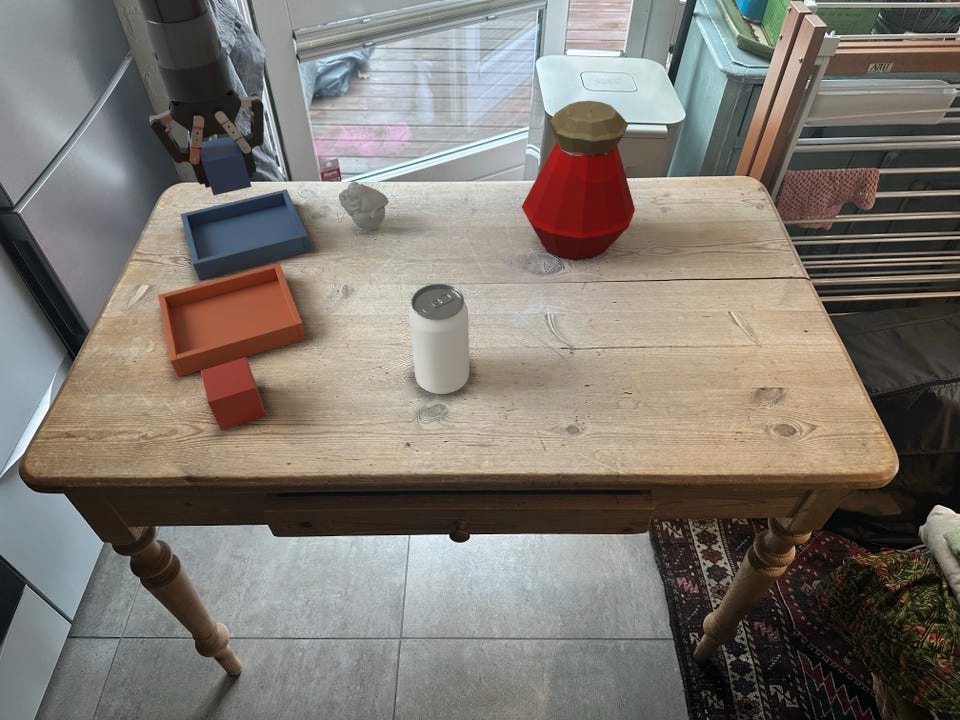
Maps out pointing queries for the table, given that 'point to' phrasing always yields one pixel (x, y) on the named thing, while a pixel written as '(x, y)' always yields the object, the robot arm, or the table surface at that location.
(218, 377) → the red block
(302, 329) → the orange tray
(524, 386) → the table surface
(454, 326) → the can
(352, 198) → the frog figurine
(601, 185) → the bottle
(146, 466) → the table surface
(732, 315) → the table surface
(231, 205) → the blue tray
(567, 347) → the table surface
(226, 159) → the blue block
